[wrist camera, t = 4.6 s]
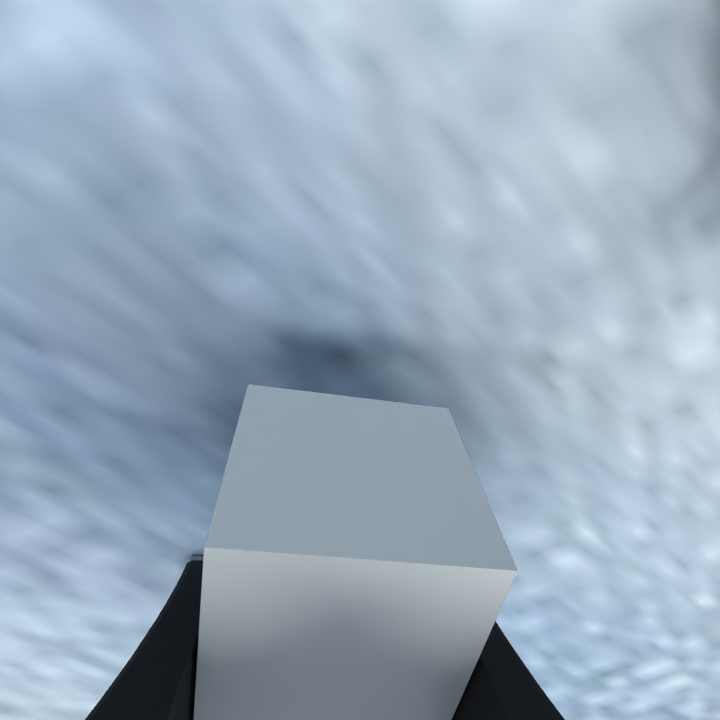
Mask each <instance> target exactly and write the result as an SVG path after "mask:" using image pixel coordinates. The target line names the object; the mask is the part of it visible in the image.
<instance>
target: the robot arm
mask: <svg viewBox="0 0 720 720" xmlns="http://www.w3.org/2000/svg"><path fill="white" fill-rule="evenodd" d="M202 573H203V561H200V560H192V561H190V562H189V563H187V565H186V567H185V569H184V571H183V573H182V575H181V577H180V579H179V581H178V583H177V585H176V587H175V589H174V590H173V592H172V594H171V596H170V597H169V599H168V601H167V603H166V604H165V606H164V608H163V609H162V611H161V612H160V614H159V616H158V617H157V619H156V621H155V622H154V624H153V625H152V627H151V628H150V630H149V631H148V633H147V634H146V636H145V637H144V639H143V640H142V642H141V643H140V645H139V646H138V648H137V650H136V651H135V653H134V654H133V655H132V657H131V658H130V660H129V661H128V663H127V664H126V665H125V667H124V668H123V669H122V671H121V672H120V674H119V675H118V676H117V678H116V679H115V680H114V682H113V683H112V685H111V686H110V687H109V689H108V690H107V691H106V693H105V694H104V696H103V697H102V698H101V700H100V701H99V702H98V704H97V705H96V706H95V707H94V709H93V710H92V711H91V713H90V714H89V715H88V716H87V718H86V719H85V720H194V704H195V687H196V671H197V655H198V638H199V622H200V605H201V589H202ZM452 720H565V719H564V718H563V717H562V715H561V714H560V713H559V711H558V710H557V709H556V707H555V706H554V705H553V703H552V702H551V701H550V700H549V698H548V697H547V696H546V694H545V693H544V691H543V690H542V689H541V687H540V686H539V684H538V683H537V682H536V680H535V679H534V677H533V676H532V675H531V673H530V672H529V670H528V669H527V667H526V666H525V665H524V663H523V662H522V660H521V659H520V657H519V656H518V654H517V653H516V652H515V650H514V649H513V647H512V646H511V644H510V643H509V641H508V640H507V638H506V637H505V635H504V634H503V632H502V631H501V629H500V627H499V626H498V624H497V623H496V621H495V623H494V625H493V627H492V630H491V632H490V634H489V636H488V639H487V641H486V643H485V645H484V648H483V650H482V652H481V654H480V657H479V659H478V661H477V663H476V666H475V668H474V670H473V672H472V675H471V677H470V679H469V681H468V684H467V686H466V688H465V690H464V693H463V695H462V697H461V699H460V702H459V704H458V706H457V708H456V711H455V713H454V715H453V717H452Z"/></svg>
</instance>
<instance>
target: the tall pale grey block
mask: <svg viewBox="0 0 720 720" xmlns="http://www.w3.org/2000/svg"><path fill="white" fill-rule="evenodd" d="M516 573H517V568H516V566H515V564H514V561H513V559H512V557H511V554H510V552H509V550H508V547H507V545H506V543H505V540H504V538H503V535H502V533H501V531H500V528H499V526H498V524H497V521H496V519H495V517H494V514H493V512H492V510H491V507H490V505H489V503H488V500H487V498H486V496H485V493H484V491H483V488H482V486H481V484H480V481H479V479H478V477H477V474H476V472H475V470H474V467H473V465H472V463H471V460H470V458H469V456H468V453H467V451H466V449H465V446H464V444H463V442H462V439H461V437H460V434H459V432H458V430H457V427H456V425H455V423H454V420H453V418H452V416H451V413H450V411H449V409H448V408H442V407H433V406H425V405H417V404H409V403H400V402H392V401H384V400H376V399H367V398H359V397H351V396H343V395H334V394H326V393H318V392H310V391H301V390H293V389H285V388H277V387H269V386H260V385H252V384H248V386H247V390H246V394H245V397H244V401H243V405H242V409H241V412H240V416H239V420H238V423H237V427H236V431H235V434H234V438H233V442H232V446H231V449H230V453H229V457H228V460H227V464H226V468H225V471H224V475H223V479H222V483H221V486H220V490H219V494H218V497H217V501H216V505H215V509H214V512H213V516H212V520H211V523H210V527H209V531H208V534H207V538H206V542H205V546H204V556H203V573H202V589H201V605H200V622H199V638H198V655H197V671H196V687H195V704H194V720H452V717H453V715H454V713H455V711H456V708H457V706H458V704H459V702H460V699H461V697H462V695H463V693H464V690H465V688H466V686H467V684H468V681H469V679H470V677H471V675H472V672H473V670H474V668H475V666H476V663H477V661H478V659H479V657H480V654H481V652H482V650H483V648H484V645H485V643H486V641H487V639H488V636H489V634H490V632H491V630H492V627H493V625H494V623H495V621H496V618H497V616H498V614H499V612H500V609H501V607H502V605H503V603H504V600H505V598H506V596H507V594H508V591H509V589H510V587H511V585H512V582H513V580H514V578H515V576H516Z"/></svg>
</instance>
